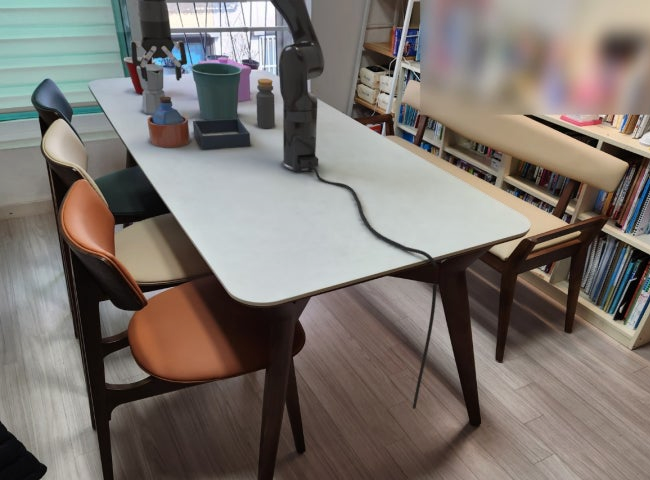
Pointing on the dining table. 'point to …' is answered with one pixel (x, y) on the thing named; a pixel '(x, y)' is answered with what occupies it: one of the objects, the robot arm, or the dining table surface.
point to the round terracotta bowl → (169, 133)
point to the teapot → (244, 77)
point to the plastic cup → (135, 73)
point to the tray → (221, 140)
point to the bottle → (265, 104)
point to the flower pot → (217, 89)
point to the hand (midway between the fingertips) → (162, 80)
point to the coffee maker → (151, 87)
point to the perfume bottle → (166, 113)
